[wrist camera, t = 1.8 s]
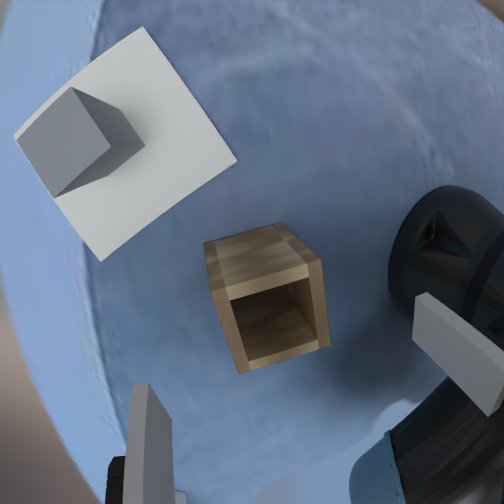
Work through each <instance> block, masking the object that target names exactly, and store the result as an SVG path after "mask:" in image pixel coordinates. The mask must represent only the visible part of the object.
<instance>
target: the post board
mask: <svg viewBox="0 0 504 504" xmlns="http://www.w3.org/2000/svg"><path fill="white" fill-rule="evenodd" d="M14 138H15V140H16V142H17V143H18V145H19V147H20V148H21V150H22V152H23V153H24V155H25V157H26V158H27V160H28V161H29V163H30V165H31V166H32V168H33V169H34V171H35V172H36V174H37V176H38V177H39V179H40V180H41V182H42V183H43V185H44V186H45V188H46V189H47V191H48V192H49V194H50V195H51V196H52V198H53V199H54V201H55V202H56V204H57V205H58V206H59V208H60V209H61V211H62V212H63V213H64V215H65V216H66V218H67V219H68V220H69V222H70V223H71V224H72V226H73V227H74V228H75V230H76V231H77V232H78V234H79V235H80V236H81V238H82V239H83V240H84V241H85V243H86V244H87V245H88V247H89V248H90V249H91V250H92V252H93V253H94V254H95V255H96V257H97V258H98V259H99V260H100V261H103V260H104V259H105V258H106V257H108V256H109V255H110V254H111V253H112V252H114V251H115V250H116V249H117V248H119V247H120V246H121V245H122V244H124V243H125V242H126V241H128V240H129V239H130V238H131V237H133V236H134V235H135V234H136V233H138V232H139V231H140V230H142V229H143V228H144V227H146V226H147V225H148V224H149V223H151V222H152V221H153V220H155V219H156V218H157V217H159V216H160V215H161V214H163V213H164V212H165V211H167V210H168V209H170V208H171V207H172V206H174V205H175V204H176V203H178V202H179V201H181V200H182V199H183V198H185V197H186V196H188V195H189V194H190V193H192V192H193V191H195V190H196V189H197V188H199V187H200V186H202V185H203V184H205V183H206V182H207V181H209V180H210V179H212V178H213V177H215V176H216V175H218V174H219V173H221V172H222V171H224V170H225V169H227V168H228V167H230V166H231V165H233V164H234V163H236V162H237V160H236V158H235V157H234V155H233V154H232V152H231V151H230V149H229V148H228V146H227V145H226V143H225V142H224V140H223V139H222V137H221V136H220V134H219V133H218V131H217V130H216V128H215V127H214V125H213V124H212V123H211V121H210V120H209V118H208V117H207V115H206V114H205V112H204V111H203V109H202V108H201V107H200V105H199V104H198V102H197V101H196V99H195V98H194V97H193V95H192V94H191V92H190V91H189V89H188V88H187V87H186V85H185V84H184V82H183V81H182V80H181V78H180V77H179V75H178V74H177V73H176V71H175V70H174V68H173V67H172V66H171V64H170V63H169V61H168V60H167V59H166V57H165V56H164V55H163V53H162V52H161V50H160V49H159V48H158V46H157V45H156V44H155V42H154V41H153V40H152V38H151V37H150V36H149V34H148V33H147V31H146V30H145V29H144V27H141V28H140V29H138V30H136V31H135V32H133V33H132V34H130V35H129V36H127V37H126V38H124V39H123V40H121V41H120V42H118V43H117V44H116V45H114V46H113V47H111V48H110V49H109V50H107V51H106V52H104V53H103V54H102V55H100V56H99V57H98V58H96V59H95V60H94V61H92V62H91V63H90V64H89V65H87V66H86V67H85V68H84V69H82V70H81V71H80V72H79V73H78V74H76V75H75V76H74V77H73V78H72V79H70V80H69V81H68V82H67V83H66V84H65V85H64V86H62V87H61V88H60V89H59V90H58V91H57V92H56V93H55V94H54V95H53V96H51V97H50V98H49V99H48V100H47V101H46V102H45V103H44V104H43V105H42V106H41V107H40V108H39V109H38V110H37V111H36V112H35V113H34V114H33V115H32V116H31V117H30V118H29V119H28V120H27V121H26V122H25V123H24V125H23V126H22V127H21V128H20V129H19V130H18V131H17V132H16V133H15V134H14Z"/></svg>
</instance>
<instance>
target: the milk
mask: <svg viewBox="0 0 504 504" xmlns="http://www.w3.org/2000/svg"><path fill="white" fill-rule="evenodd" d="M175 503H176V504H187V503H186V493H185V492H180V491H176V490H175Z"/></svg>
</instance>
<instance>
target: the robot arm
mask: <svg viewBox="0 0 504 504" xmlns="http://www.w3.org/2000/svg"><path fill="white" fill-rule="evenodd" d="M389 287H390V293H391V296H392V299H393V302H394V304H395V306H396V307H397V309H398V310H399V311H400V312H401V313H402V314H403V315H404V316H405V317H407V318H408V319H409V320H410V321H411V322H412V323H413V332H412V340H413V341H414V342H415V343H416V344H417V345H418V346H419V347H420V348H421V349H422V350H423V351H424V352H425V353H426V354H427V355H428V356H429V357H430V358H431V359H432V360H433V361H434V362H435V363H436V364H437V365H438V366H439V367H440V368H441V369H442V370H443V371H444V372H445V373H446V374H447V375H448V376H447V378H446V379H445V380H444V381H443V382H442V383H441V384H440V385H439V386H438V387H437V388H436V389H435V390H434V391H433V392H432V393H431V394H430V395H429V396H428V397H427V398H426V399H425V400H424V401H423V402H422V403H421V404H420V405H419V406H418V407H417V408H415V409H414V411H412V412H411V413H410V414H409V415H408V416H407V417H406V418H405V419H403V420H402V421H401V422H400V423H399V424H398V425H397V426H395V427H394V428H393V429H392V430H391V431H390V430H388V431H387V432H385V434H384V437H383V438H382V439H381V440H380V441H379V442H378V443H376V444H375V445H374V446H373V447H372V448H371V449H369V450H368V451H367V452H366V453H365V454H363V455H362V456H361V457H360V458H359V459H358V460H357V462H356V463H355V464H354V466H353V468H352V471H351V474H350V479H349V494H350V500H351V504H504V215H503V214H502V213H501V212H500V211H499V210H498V209H497V208H495V207H494V206H493V205H492V204H491V203H490V202H488V201H487V200H486V199H485V198H483V197H482V196H481V195H480V194H478V193H476V192H474V191H472V190H468V189H465V188H461V187H458V186H444V187H441V188H438V189H436V190H434V191H432V192H431V193H429V194H428V195H426V196H425V197H424V198H423V199H422V200H421V201H420V202H419V203H418V204H417V205H416V206H415V207H414V208H413V210H412V211H411V212H410V214H409V215H408V217H407V218H406V220H405V222H404V224H403V226H402V227H401V230H400V232H399V234H398V236H397V239H396V242H395V244H394V248H393V251H392V255H391V260H390V267H389ZM107 478H108V480H107V485H106V486H107V488H106V497H105V504H176V503H175V490H174V473H173V451H172V419H171V418H170V416H169V415H168V413H167V412H166V410H165V408H164V407H163V405H162V404H161V402H160V401H159V399H158V397H157V396H156V394H155V392H154V391H153V389H152V388H151V386H150V384H149V383H145V384H140V385H135V386H133V393H132V401H131V409H130V417H129V425H128V435H127V445H126V456H117V457H113V459H112V461H111V463H110V465H109V467H108V475H107Z"/></svg>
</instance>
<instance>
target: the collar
mask: <svg viewBox="0 0 504 504" xmlns="http://www.w3.org/2000/svg"><path fill="white" fill-rule="evenodd" d="M204 250H205V257H206V264H207V271H208V278H209V285H210V291H211V294H212V298H213V301H214V304H215V307H216V310H217V313H218V316H219V319H220V322H221V325H222V328H223V331H224V334H225V337H226V340H227V343H228V345H229V348H230V351H231V354H232V357H233V360H234V363H235V365H236V368H237V371H238V374H242V373H245V372H249V371H252V370H256V369H259V368H262V367H266V366H269V365H272V364H276V363H279V362H282V361H285V360H288V359H291V358H294V357H297V356H300V355H303V354H306V353H309V352H312V351H315V350H318V349H321V348H323V347H326V346H329V345H331V342H330V332H329V323H328V313H327V305H326V296H325V288H324V280H323V273H322V265H321V259H320V258H319V257H317V256H316V255H315V254H314V253H313V252H312V251H311V250H310V249H309V248H308V247H307V246H306V245H304V244H303V243H302V242H301V241H300V240H299V239H298V238H297V237H296V236H295V235H293V234H292V233H291V232H290V231H289V230H288V229H287V228H286V227H285V226H283V225H282V224H281V223H277V224H273V225H269V226H265V227H262V228H258V229H254V230H251V231H247V232H243V233H240V234H236V235H232V236H229V237H225V238H222V239H218V240H214V241H211V242H207V243H204Z"/></svg>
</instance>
